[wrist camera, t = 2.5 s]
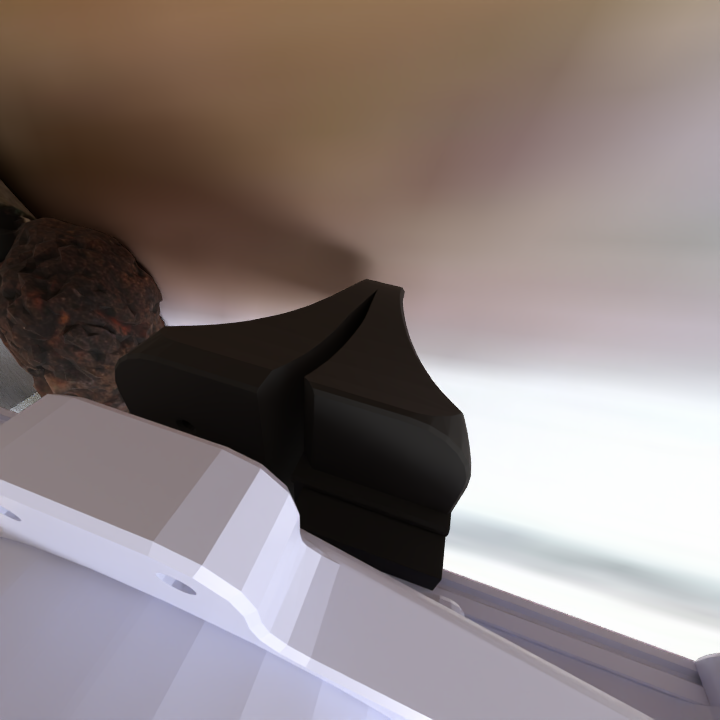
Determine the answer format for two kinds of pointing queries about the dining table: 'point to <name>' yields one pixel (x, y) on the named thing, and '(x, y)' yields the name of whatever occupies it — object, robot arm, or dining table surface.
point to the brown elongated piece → (70, 303)
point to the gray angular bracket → (13, 380)
